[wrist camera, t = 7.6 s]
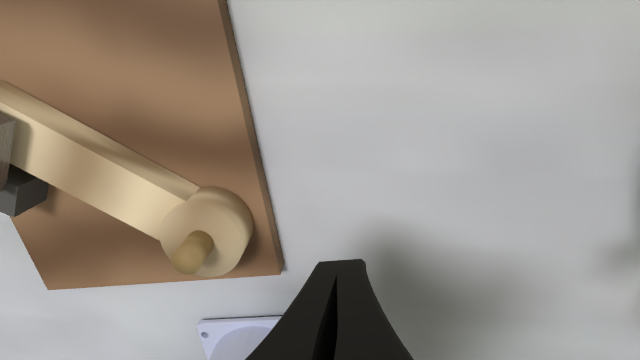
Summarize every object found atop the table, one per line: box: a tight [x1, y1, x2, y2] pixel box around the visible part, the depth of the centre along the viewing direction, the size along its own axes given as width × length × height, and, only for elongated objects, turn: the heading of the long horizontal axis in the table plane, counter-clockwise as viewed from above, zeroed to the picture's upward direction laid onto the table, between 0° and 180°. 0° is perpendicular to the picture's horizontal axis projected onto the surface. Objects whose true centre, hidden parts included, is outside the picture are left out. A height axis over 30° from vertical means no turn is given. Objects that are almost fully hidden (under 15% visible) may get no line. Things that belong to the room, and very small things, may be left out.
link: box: [0, 80, 254, 277], centre depth 19 cm, size 15×4×4 cm, turn 60°
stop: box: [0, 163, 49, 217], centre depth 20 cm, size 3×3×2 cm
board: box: [0, 0, 284, 290], centre depth 21 cm, size 18×16×1 cm
